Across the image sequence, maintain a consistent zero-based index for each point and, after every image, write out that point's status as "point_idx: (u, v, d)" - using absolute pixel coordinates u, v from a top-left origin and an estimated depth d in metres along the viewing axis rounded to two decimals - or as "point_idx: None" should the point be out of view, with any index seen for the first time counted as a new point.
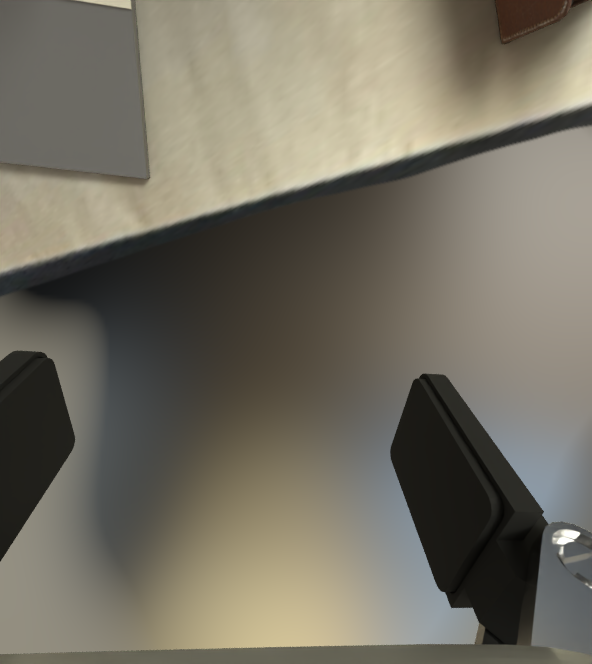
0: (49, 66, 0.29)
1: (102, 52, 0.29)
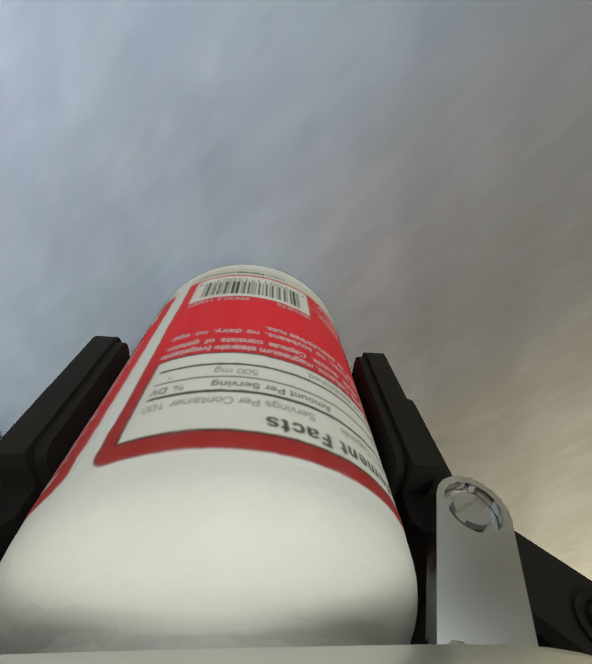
0: None
1: None
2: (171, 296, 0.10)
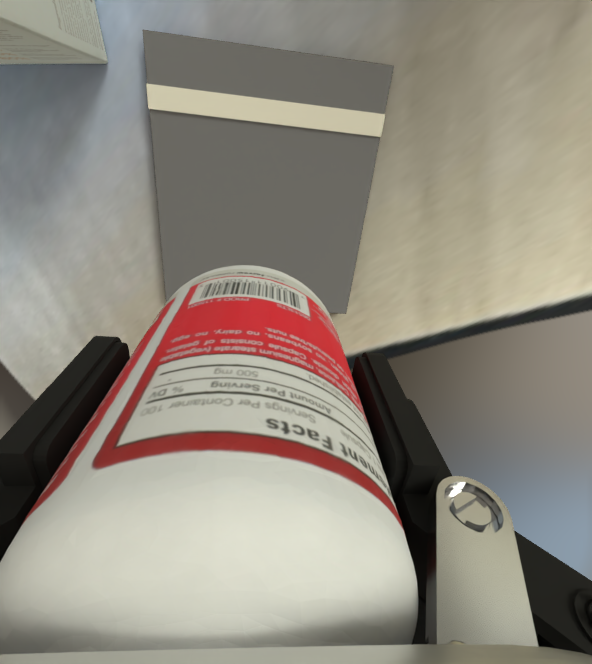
0: (262, 201, 0.23)
1: (331, 184, 0.23)
2: (171, 297, 0.10)
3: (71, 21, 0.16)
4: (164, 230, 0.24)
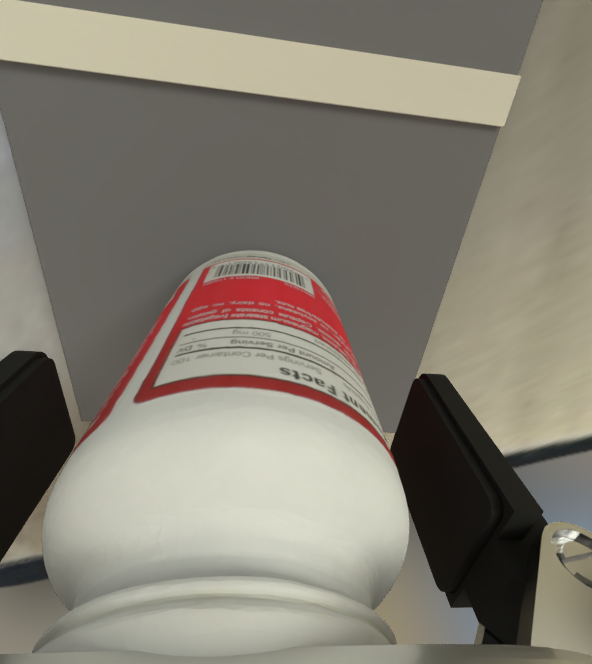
0: None
1: (389, 222, 0.11)
2: (184, 279, 0.11)
3: None
4: (60, 308, 0.12)
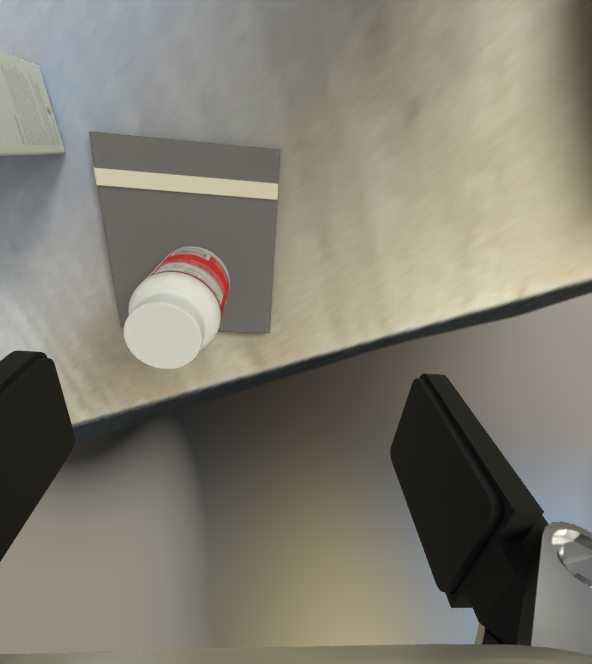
0: None
1: (244, 234, 0.29)
2: None
3: (32, 135, 0.23)
4: (115, 272, 0.30)
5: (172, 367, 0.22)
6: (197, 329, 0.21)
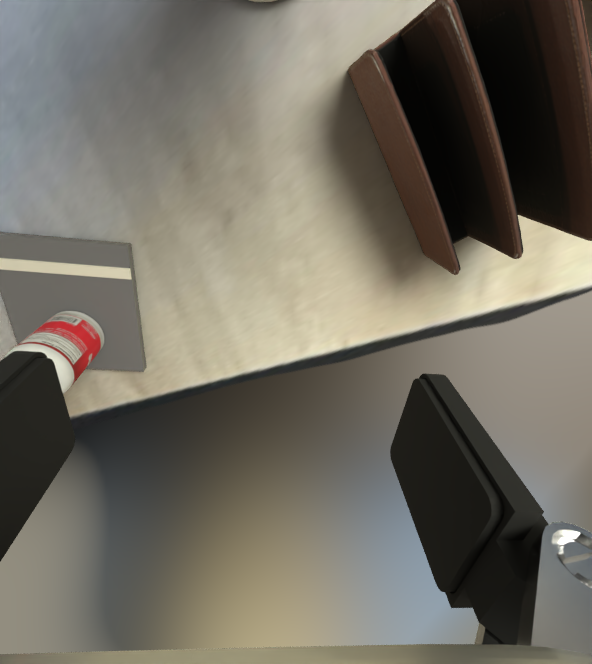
0: None
1: (110, 302, 0.39)
2: None
3: None
4: (14, 327, 0.40)
5: None
6: None
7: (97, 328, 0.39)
